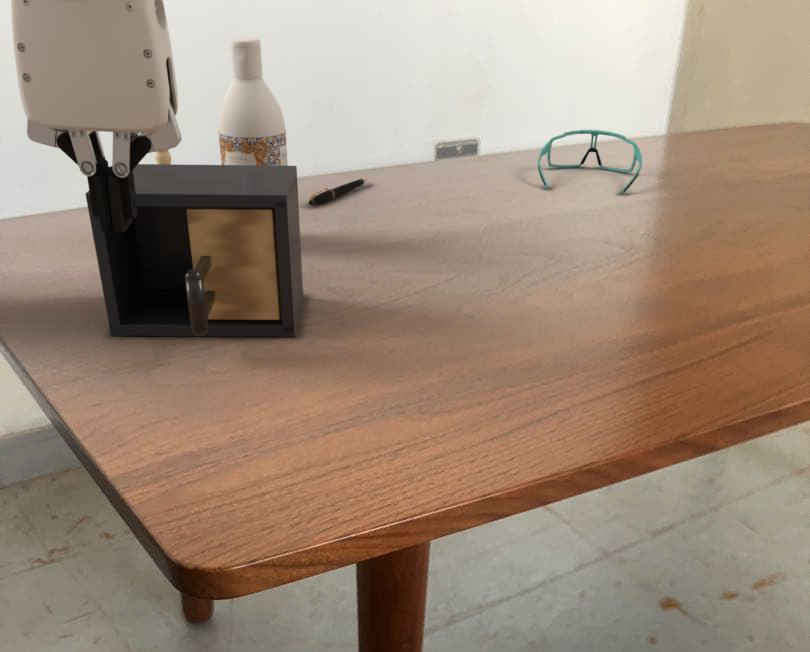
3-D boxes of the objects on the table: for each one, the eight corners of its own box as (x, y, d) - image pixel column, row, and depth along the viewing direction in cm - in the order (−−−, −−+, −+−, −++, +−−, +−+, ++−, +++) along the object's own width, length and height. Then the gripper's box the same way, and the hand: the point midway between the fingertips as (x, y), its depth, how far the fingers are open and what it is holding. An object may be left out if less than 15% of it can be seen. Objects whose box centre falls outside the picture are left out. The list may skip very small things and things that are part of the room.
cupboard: (110, 336, 80) (84, 193, 73) (136, 295, 88) (115, 163, 81) (294, 337, 80) (286, 195, 73) (303, 296, 88) (296, 165, 82)
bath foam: (217, 247, 100) (195, 40, 89) (248, 229, 106) (231, 33, 94) (273, 255, 99) (259, 45, 87) (302, 237, 104) (292, 36, 92)
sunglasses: (640, 168, 132) (645, 132, 129) (636, 206, 121) (641, 168, 118) (542, 162, 135) (546, 126, 132) (530, 198, 124) (533, 160, 121)
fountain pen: (364, 183, 124) (364, 171, 123) (371, 184, 124) (371, 172, 123) (304, 208, 114) (304, 195, 113) (312, 209, 113) (312, 197, 113)
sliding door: (185, 349, 74) (170, 232, 69) (200, 316, 80) (187, 206, 75) (272, 350, 75) (263, 233, 69) (280, 316, 81) (273, 207, 75)
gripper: (204, -58, 62) (223, 216, 73) (-19, -70, 62) (33, 208, 72) (185, -51, 56) (208, 247, 67) (-63, -65, 56) (0, 238, 66)
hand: (117, 226), depth 70 cm, fingers closed
